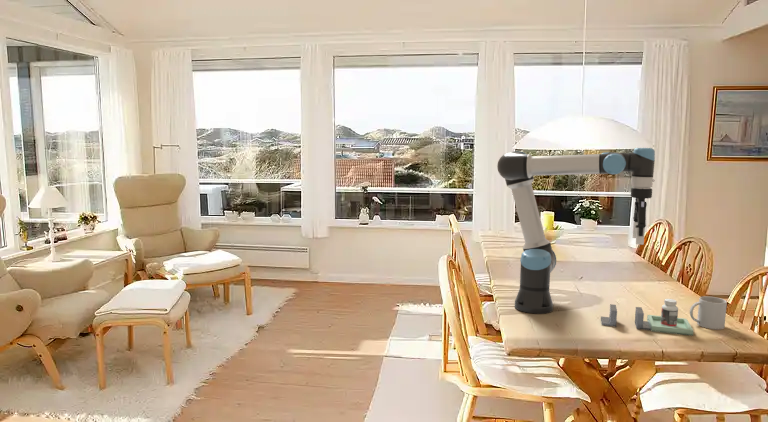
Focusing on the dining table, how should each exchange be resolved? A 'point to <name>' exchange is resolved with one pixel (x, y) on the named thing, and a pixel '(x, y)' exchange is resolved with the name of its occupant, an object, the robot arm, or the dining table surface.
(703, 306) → the mug
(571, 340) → the dining table surface
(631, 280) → the dining table surface
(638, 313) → the bookends
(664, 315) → the pill bottle
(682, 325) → the tray
